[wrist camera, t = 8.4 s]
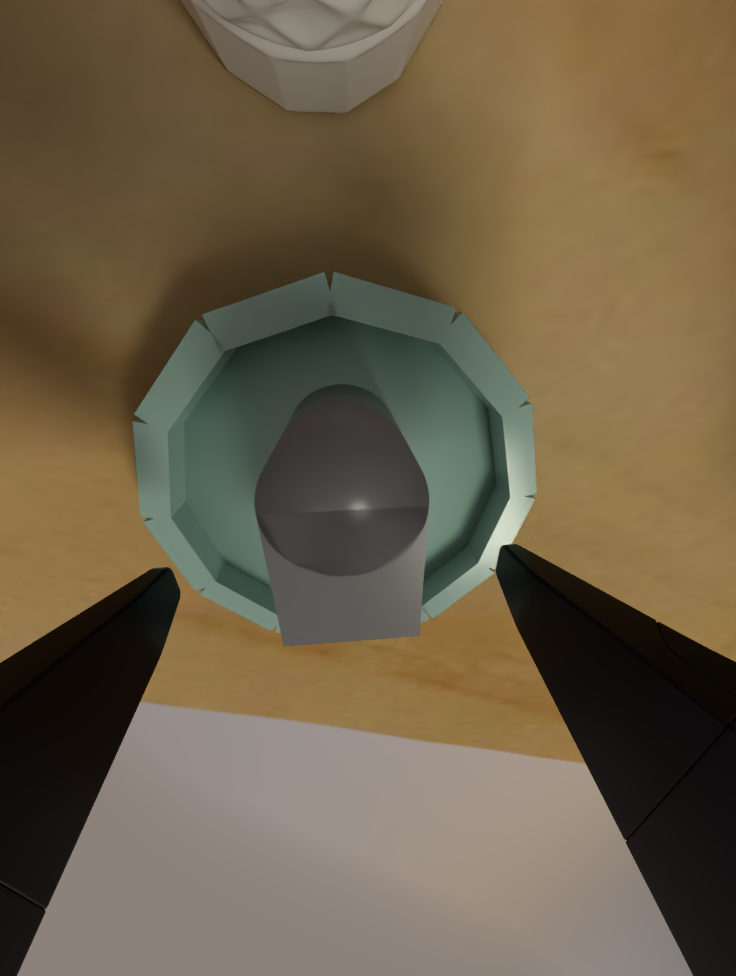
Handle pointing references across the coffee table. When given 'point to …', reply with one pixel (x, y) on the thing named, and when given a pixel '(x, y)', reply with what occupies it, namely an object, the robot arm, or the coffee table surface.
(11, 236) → the coffee table surface
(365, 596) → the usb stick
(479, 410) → the dish
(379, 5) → the white cup
